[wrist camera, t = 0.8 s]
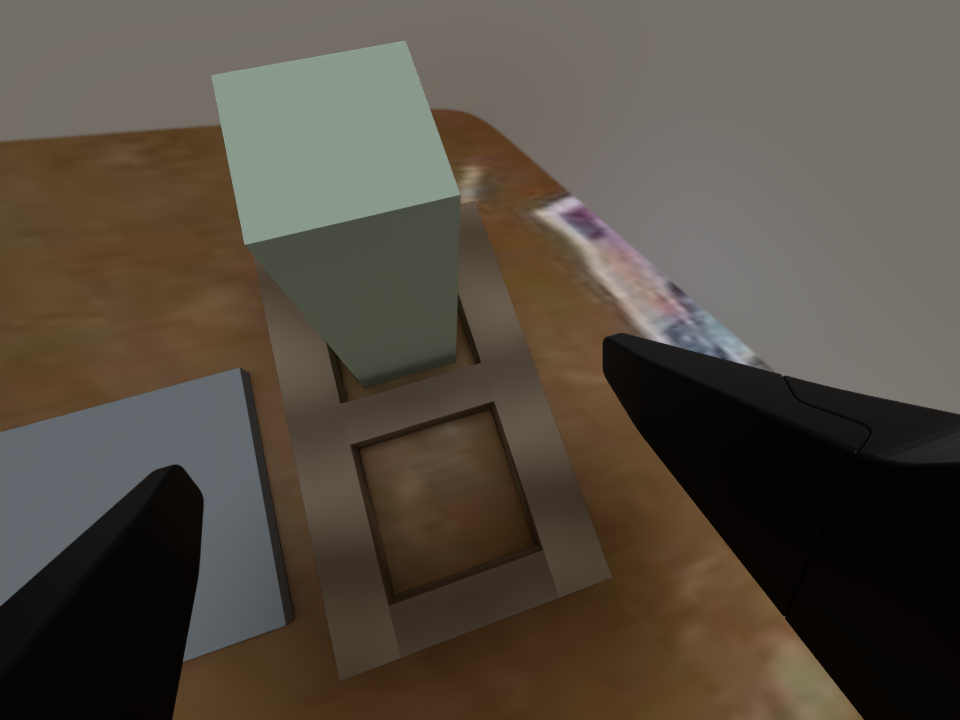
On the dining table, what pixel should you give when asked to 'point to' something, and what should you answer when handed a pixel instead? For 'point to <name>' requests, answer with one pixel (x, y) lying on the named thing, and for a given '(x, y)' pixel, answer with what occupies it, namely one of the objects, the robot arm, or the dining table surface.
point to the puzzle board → (406, 409)
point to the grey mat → (124, 464)
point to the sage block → (349, 203)
